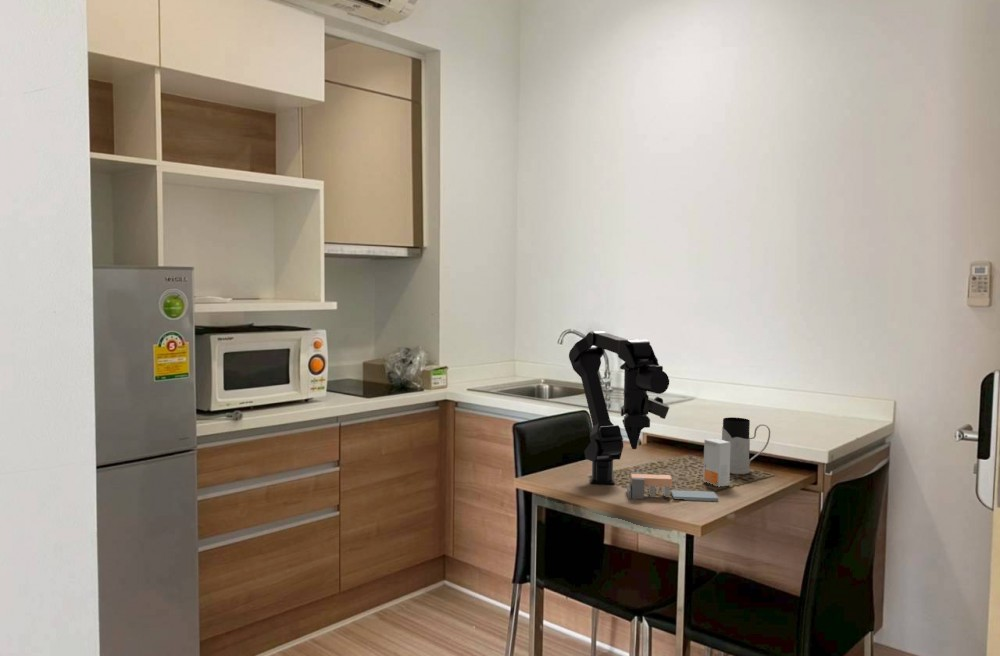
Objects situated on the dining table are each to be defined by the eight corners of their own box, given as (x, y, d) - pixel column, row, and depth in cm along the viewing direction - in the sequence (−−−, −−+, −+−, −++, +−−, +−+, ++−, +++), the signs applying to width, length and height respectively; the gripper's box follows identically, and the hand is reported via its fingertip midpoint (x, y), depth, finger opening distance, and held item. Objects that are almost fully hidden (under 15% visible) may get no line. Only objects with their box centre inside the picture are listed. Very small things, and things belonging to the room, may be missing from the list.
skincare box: (702, 482, 215) (703, 439, 214) (713, 480, 217) (715, 437, 216) (718, 487, 209) (719, 443, 209) (730, 485, 212) (731, 441, 211)
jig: (627, 490, 205) (627, 472, 204) (667, 492, 204) (667, 473, 203) (628, 498, 198) (629, 479, 197) (670, 500, 197) (670, 480, 196)
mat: (671, 493, 203) (671, 490, 203) (714, 494, 202) (714, 491, 202) (673, 499, 197) (673, 496, 197) (718, 501, 196) (718, 498, 196)
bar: (630, 481, 203) (630, 473, 203) (669, 482, 202) (669, 475, 202) (631, 485, 199) (631, 477, 199) (671, 486, 198) (671, 479, 198)
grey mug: (716, 466, 234) (717, 416, 233) (764, 467, 233) (766, 417, 232) (723, 473, 225) (724, 422, 224) (773, 474, 224) (774, 423, 223)
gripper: (671, 394, 189) (670, 458, 190) (663, 384, 208) (662, 442, 209) (625, 393, 190) (624, 456, 191) (621, 383, 209) (620, 441, 210)
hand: (634, 448), depth 200 cm, fingers closed
